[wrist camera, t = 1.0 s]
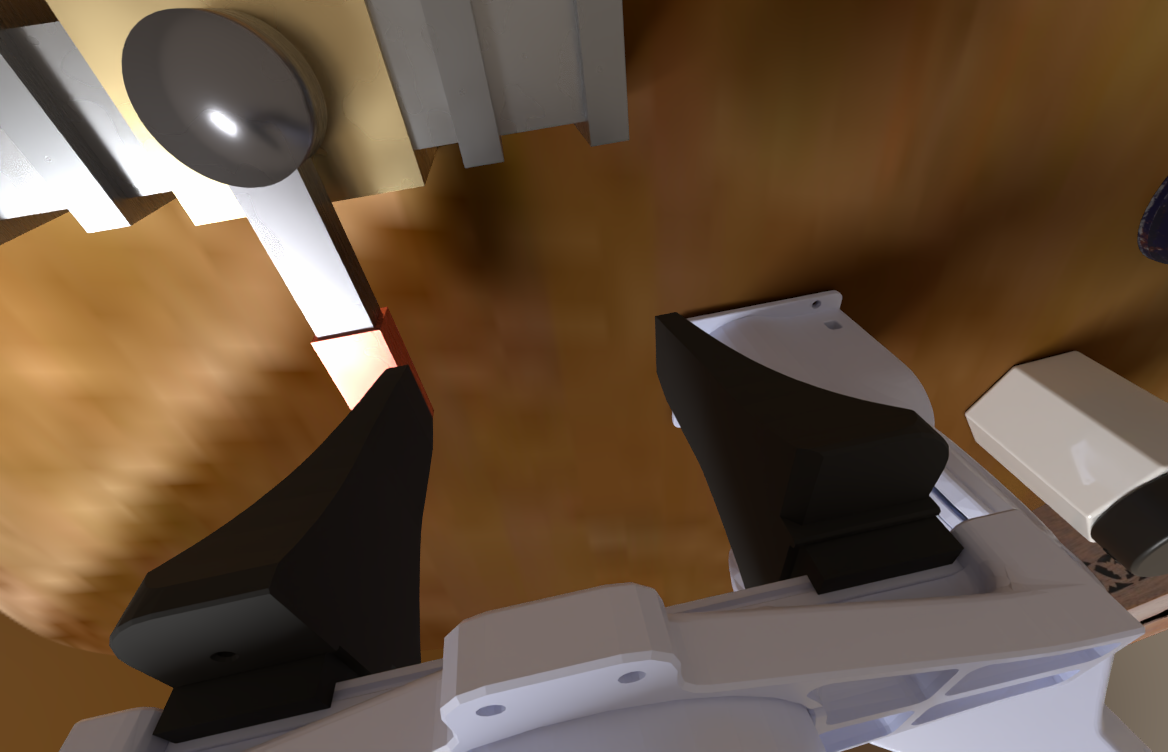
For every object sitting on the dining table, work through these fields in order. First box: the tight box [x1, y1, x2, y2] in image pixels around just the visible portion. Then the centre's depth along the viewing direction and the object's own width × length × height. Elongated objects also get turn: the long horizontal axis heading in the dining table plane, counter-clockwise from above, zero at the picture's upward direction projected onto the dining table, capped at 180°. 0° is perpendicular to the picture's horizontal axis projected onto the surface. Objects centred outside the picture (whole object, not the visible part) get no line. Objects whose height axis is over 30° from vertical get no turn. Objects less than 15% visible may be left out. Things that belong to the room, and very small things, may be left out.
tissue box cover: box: [1031, 504, 1168, 645], centre depth 46 cm, size 26×14×10 cm, turn 136°
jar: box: [965, 351, 1168, 577], centre depth 30 cm, size 9×8×12 cm
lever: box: [121, 8, 434, 417], centre depth 15 cm, size 13×4×2 cm, turn 7°
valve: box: [0, 0, 629, 245], centre depth 14 cm, size 20×6×5 cm, turn 97°
